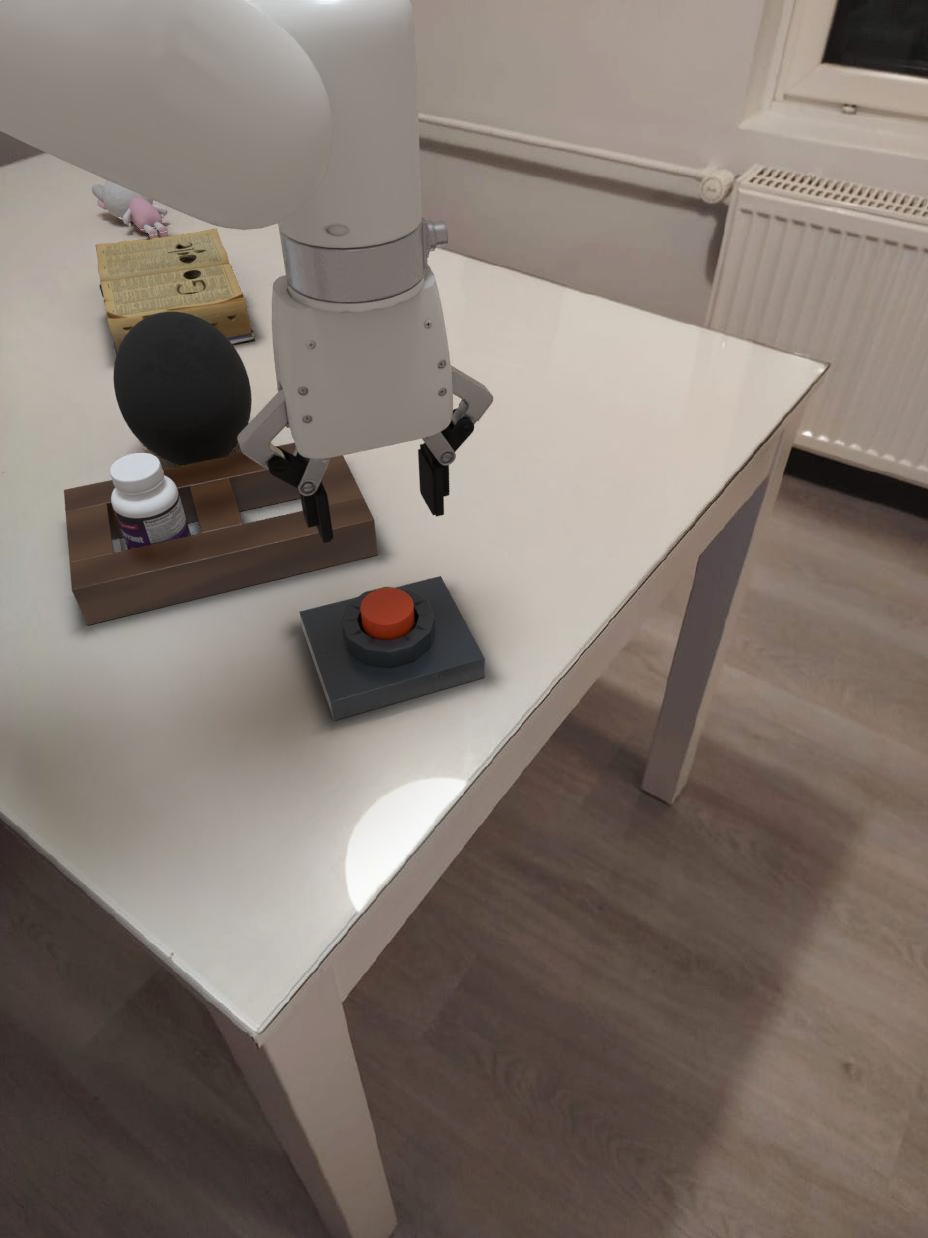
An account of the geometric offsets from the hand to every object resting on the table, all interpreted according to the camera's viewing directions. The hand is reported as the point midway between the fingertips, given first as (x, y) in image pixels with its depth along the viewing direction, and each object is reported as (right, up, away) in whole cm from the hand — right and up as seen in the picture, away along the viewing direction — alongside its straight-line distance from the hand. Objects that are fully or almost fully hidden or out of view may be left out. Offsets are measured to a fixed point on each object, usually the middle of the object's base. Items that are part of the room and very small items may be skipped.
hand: (378, 515), depth 59 cm
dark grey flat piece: (0, -10, +10) cm, 14 cm away
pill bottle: (-21, -2, +18) cm, 28 cm away
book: (-31, +33, +53) cm, 70 cm away
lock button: (0, -7, +7) cm, 10 cm away
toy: (-43, +53, +73) cm, 100 cm away
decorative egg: (-21, +9, +29) cm, 37 cm away
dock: (-16, 0, +20) cm, 26 cm away
